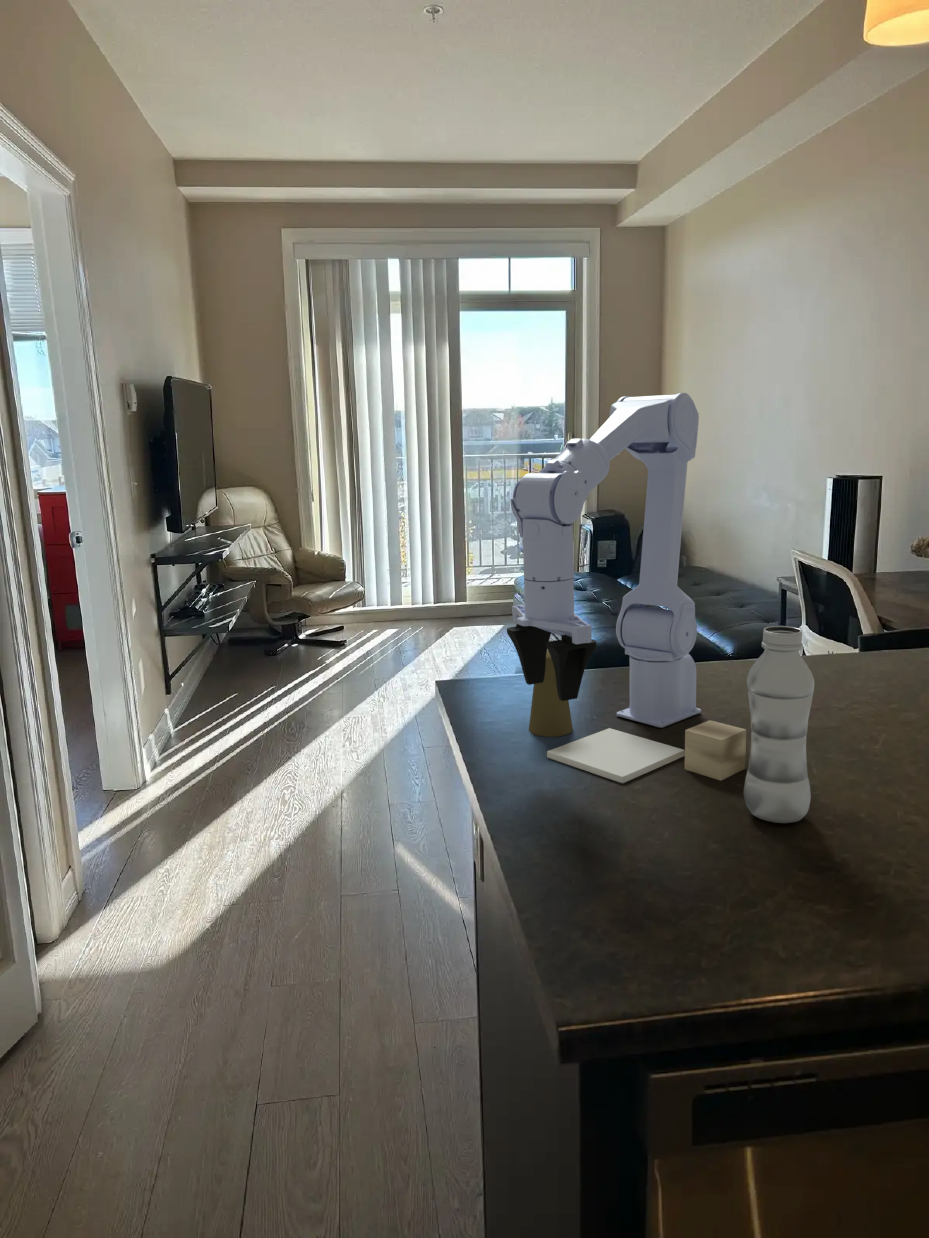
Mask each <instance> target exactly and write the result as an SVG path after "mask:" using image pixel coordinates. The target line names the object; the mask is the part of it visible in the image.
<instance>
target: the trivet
mask: <svg viewBox="0 0 929 1238" xmlns="http://www.w3.org/2000/svg"><path fill="white" fill-rule="evenodd" d="M546 757H547V758H548V759H550V760H554V761H556V762H560V763H563V764H565V765H568V766H570V767H573V768H577V769H580V770H583V771H586V772H589V773H592V774H594V775H597V776H600V777H603V778H606V779H607V780H608V779H609V780H612V781H614V782H617V783H619V784H625V783H627V782H629V781H631V780H634V779H636V778H639V777H640V776H642V775H645V774H648V773H649V772H651V771H654V770H656V769H658V768H661V767H663V766H665V765H668V764H669V763H672V762H674V761H677V760H679V759H681V758H683V757H684V758H685V749H682V748H679V747H677V746H672V745H669V744H665V743H662V742H658V741H657V740H656V741H655V740H651V739H649V738H645V737H642V736H637V735H635V734H630V733H627V732H624V731H620V730H617V729H613V728H611V727H608V728H605V729H604V730H601V731H598V732H595V733H593V734H590V735H587V736H585V737H581V738H579V739H577V740H574V741H572V742H569V743H566V744H563V745H561V746H559V747H555V748H553V749H549V750H547V751H546Z"/></svg>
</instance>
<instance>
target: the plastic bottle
mask: <svg viewBox="0 0 929 1238" xmlns="http://www.w3.org/2000/svg"><path fill="white" fill-rule="evenodd" d="M803 646H804V644H803V630H802V629H801V628H799V627H795V626H786V625H770V626H767V627H764V628H763V633H762V641H761V648H762V649H764V651H763V652H762V654H761V655H760V656H759V657H758V658H757V659H756V660H755V662H754V663H753V665H752V666H751V668H750V669H749V672H748V674H747V677H746V688H747V694H748V695H747V696H748V703H749V712H750V729H751V732H750V736H751V737H750V738H751V739H750V741H751V742H750V751H749V759H748V766H747V767H748V769H747V770H746V775H745V778H744V779H745V780H744V786H743V797H744V802H745V805H746V807H747V809H748V811H750V813H751V815H753V816H754V817H756V818H757V819H760V820H763V821H766V822H769V823H776V824H777V823H778V824H789V823H797V822H799V821H801V820H802V819H803V818H804V817H805V816H806V815H807V813H808V812H809V810H810V804H811V798H812V795H811V786H810V785H811V784H810V781H809V776H808V762H807V738H808V737H807V734H808V727H809V726H808V725H809V717H810V714H811V713H810V711H811V708H812V702H813V698H814V691H815V690H814V689H815V684H816V683H815V679H814V675H813V672H812V671H811V670H810V667H809V666H808V664H807V662H806V661H805V660H804V658H803V657H802V656H801V654H800V651H802V650H803Z"/></svg>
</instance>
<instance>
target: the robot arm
mask: <svg viewBox="0 0 929 1238" xmlns="http://www.w3.org/2000/svg"><path fill="white" fill-rule="evenodd" d="M609 410H610V411H609V417H608V418H607V420H606V421H604V423H602V425H601V426H600V427H599V428H598V429H597V430H596V432H595V433H594V434H592V436H591V437H590V438H570V440H568V441H567V443H566V448H565V449H563V451H561V452H560V453H558V455H557V456H555V457H554V458H553V459H549V460H548V461H547V462H546V463H545V466H544V467H543V468H541V469H540V470H539V472H528V473H526V474H524V476H523V477H521V478H520V479H519V480H518V481H517V482H516V484H515V486H514V488H513V493H512V498H510V507H511V511H512V514H513V517H514V518H515V519H516V522H517V533H518V534H519V537H520V538H521V539H522V556H523V557H522V559H523V560H522V561H523V585H524V586H523V587H524V588H523V589H524V591H523V592H524V593H523V595H524V604H518V605H512V606H511V608H512V609H511V612H512V614H511V615H512V622H515V623H516V625H515V626H509V627H507V628H506V633H507V634H506V635H508V637H509V638H510V640H511V642H512V644H513V647H514V648H515V651H516V653H517V656H518V658H519V659H518V660H519V662H520V666H521V671H522V673H523V678H524V680H525V684H526V685H528V686H530V685H534V684H537V683H542V682H543V681H544V676H545V666H546V653H547V650H548V651H549V653H550V656H551V658H552V662H553V665H554V670H555V675H556V685H557V692H558V696H559V700H561V701H566V700H569V701H570V700H571V701H572V700H575V699H576V700H577V699H578V696H579V693H580V689H581V685H582V684H581V683H582V680H583V676H584V673H585V670H586V668H587V666H588V665H587V664H588V662H589V660H590V658H591V657H592V654H593V652H595V650H596V649H597V640H595V639H593V638H592V637H593V636H592V624H590V623H587V622H585V621H584V620H583V619H582V618H581V617H579V616H578V615H577V613H575V589H574V587H575V585H574V584H575V583H574V582H575V581H574V578H575V576H574V523H575V521H578V520H579V518H580V516H581V514H582V512H583V508H584V504H585V502H586V501H587V499H588V496H589V494H590V493H591V492H592V491H593V490H594V489H595V488H596V487H597V486H598V485H599V484H600V483H602V481H603V480H605V478H606V477H607V476H608V474H609V472H610V461H611V460H612V459H615V457H616V456H618V455H619V454H621V452H623V451H624V450H626V451H627V453H629V454H630V455H631V456H632V457H633V458H634V459H636V460H639V461H640V462H642V463H643V465H645V468H646V469H647V484H646V496H645V509H644V519H643V531H642V532H643V533H642V545H641V556H640V557H641V558H640V570H639V582H638V585H637V586H636V587H634V588H632V589H631V590H630V591H628V592H627V593H626V594H625V595H624V596H622V603H621V608H620V611H619V615H618V616H617V620H616V624H615V625H616V627H615V634H616V638H617V640H618V643H619V644H620V646H621V647H622V648H623V649H624V655H628V656H629V707H627V708H625V709H623V710H619V711H616V716H617V717H619V718H623V719H628V720H630V721H634V722H638V723H640V724H641V723H642V724H644V725H645V724H646V725H649V726H653V727H655V728H665V727H667V726H670V725H672V724H674V723H675V724H676V723H677V722H680V721H682V720H685V719H688V718H691V717H692V716H694V715H698V714H700V713H701V712H702V709H701V708H698V707H696V706H697V666H696V663H695V660H694V659H693V657H692V655H691V654H690V652H691V651H692V649H694V646H695V643H696V640H697V635H698V625H697V622H696V606H695V605H696V603H695V601H693V599H692V598H691V597H690V596H689V595H687V593H685V592H684V591H683V590H682V589H681V588H680V587H679V586H678V580H679V579H678V578H679V577H678V576H679V567H680V555H681V543H682V532H683V519H684V506H685V495H686V494H685V493H686V483H687V472H688V464H689V463H688V462H690V461H692V460H693V459H694V458H695V457H696V449H697V443H698V433H699V432H698V431H699V420H700V417H699V412H698V409H697V407H696V404H695V401H694V400H693V399H692V397H691V395H689V394H688V393H686V392H678V393H675V394H661V395H660V394H659V395H643V396H640V395H639V396H629V395H624V396H621V397H619V398H618V400H617V401H616V402H614V403H612V404H611V406H610V409H609ZM646 605H647V606H646ZM648 605H649V606H656V607H648ZM658 607H665V608H658ZM666 608H668V609H666ZM552 634H555V635H557V636H560V637H561V639H557V640H550V639H551V635H552Z"/></svg>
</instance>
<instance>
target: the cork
mask: <svg viewBox="0 0 929 1238" xmlns="http://www.w3.org/2000/svg"><path fill="white" fill-rule="evenodd" d="M531 697H532V698H531V705H530V716H529V725H528V732H530V734H532V735H534V736H538V737H546V738H550V737H551V738H553V737H554V738H555V737H557V738H558V737H563V736H567V735H569V734H570V733H572V732H573V730H574V729H573V723H572V722H573V721H572V717H571V716H572V715H571V714H572V713H571V710H570V700H566V701H561V700H559V696H558V692H557V685H556V675H555V670H554V665H553V662H552V658H551V656H550V653H549V651H548V649H547V653H546V666H545V676H544V681H543V682H542V683H537V684H533V688H532V696H531Z"/></svg>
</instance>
